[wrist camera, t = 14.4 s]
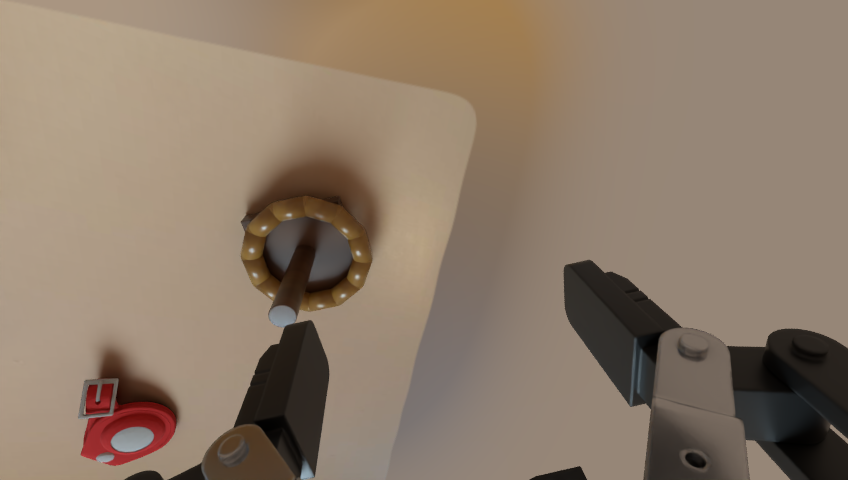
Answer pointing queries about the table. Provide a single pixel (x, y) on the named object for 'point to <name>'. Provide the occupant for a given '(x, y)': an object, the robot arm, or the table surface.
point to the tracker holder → (121, 424)
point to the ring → (319, 211)
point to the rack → (303, 261)
